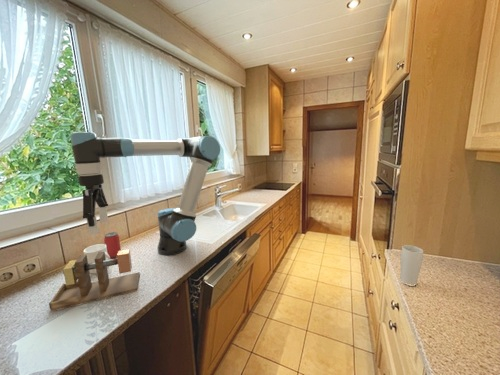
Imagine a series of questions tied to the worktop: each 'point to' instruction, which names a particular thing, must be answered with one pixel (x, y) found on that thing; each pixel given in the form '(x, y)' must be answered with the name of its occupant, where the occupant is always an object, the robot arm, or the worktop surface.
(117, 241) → the beer can
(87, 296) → the wooden stand
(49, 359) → the worktop surface
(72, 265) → the spacer
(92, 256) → the mug
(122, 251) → the mallet
